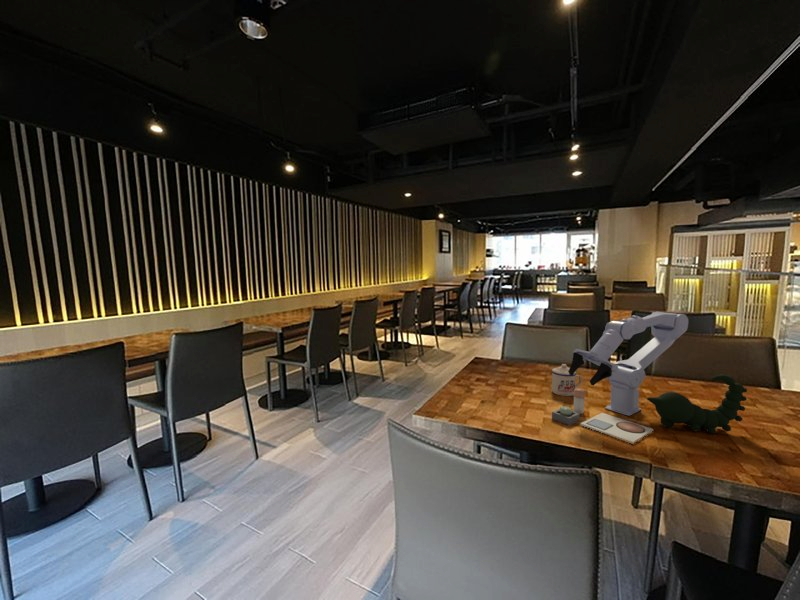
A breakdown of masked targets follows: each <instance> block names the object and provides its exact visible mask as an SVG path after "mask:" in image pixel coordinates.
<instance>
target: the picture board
mask: <svg viewBox="0 0 800 600" xmlns="http://www.w3.org/2000/svg"><path fill="white" fill-rule="evenodd" d="M579 426H580V427H583V426H584V428H585V427H587V428H586V429H588V428H590V429H589V430H591V429H592V430H591V431H594V430H596V431H599V432H601V433H600V434H602V433H605V434H608V435H610V436H613V437H616V438H619V439H622V440H625V441H627V442H630V443H634V442H636V441H638V440H639V439H641V438H642V437H644V436H646V435H647V434H649V433H650V432H652V431H653V432H654V429H653V428H651V427H649V426H648V427H647V426H645V425H642V424H638V423H636V422H632V421H630V420H626V419H624V418H619V417H617V416H613V415H611V414H607V413H604V412H600V413H599V414H597V415H594V416H592V417H591V418H588V419H586V420H584V421H581V422H580V425H579ZM596 431H595V432H596ZM599 432H598V433H599ZM653 432H652V433H653ZM650 434H651V433H650ZM650 434H649V435H650ZM610 436H609V437H610ZM647 436H648V435H647ZM647 436H646V437H647ZM644 438H645V437H644ZM641 440H642V439H641ZM638 442H639V441H638Z"/></svg>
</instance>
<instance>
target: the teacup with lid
mask: <svg viewBox="0 0 800 600" xmlns="http://www.w3.org/2000/svg"><path fill="white" fill-rule="evenodd" d="M569 369H570V367H568V366H567V364H566V363H562V364H561V365H559V366H558V367H554V368H552V369H551V392H552V393H553V394H555V395H559V396H562V397H571V396H573V397H574V389H575V388H578V387H579V386H581V385H582V382H583V378H582V376H581V375H579V374H577V372H576V371H577V370H576V371H575V373H574V374H573V375H570V374H569V372H568V371H569ZM576 378H578V379H579V381H578V383H576Z"/></svg>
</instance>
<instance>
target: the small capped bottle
mask: <svg viewBox="0 0 800 600" xmlns="http://www.w3.org/2000/svg"><path fill="white" fill-rule="evenodd" d="M585 395H586V390H585V389H583V388H578V387H575V389H574V395H573V412H576V413H579V415H582V414H584V412H585Z"/></svg>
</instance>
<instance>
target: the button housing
mask: <svg viewBox="0 0 800 600" xmlns="http://www.w3.org/2000/svg"><path fill="white" fill-rule="evenodd" d="M551 420H553V421H555V420H556V421H555V422H558V423H560V422H561V424H563V423H564V425H566V426H568V425H570V426H572V425H574V424H575V423H578V422H580V414H579V413H576V412H574V410H572V415H571V416H569V417H568V416H565V415H562V414H560V408H558V409H556V410H553V411H551ZM571 424H572V425H571Z"/></svg>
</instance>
